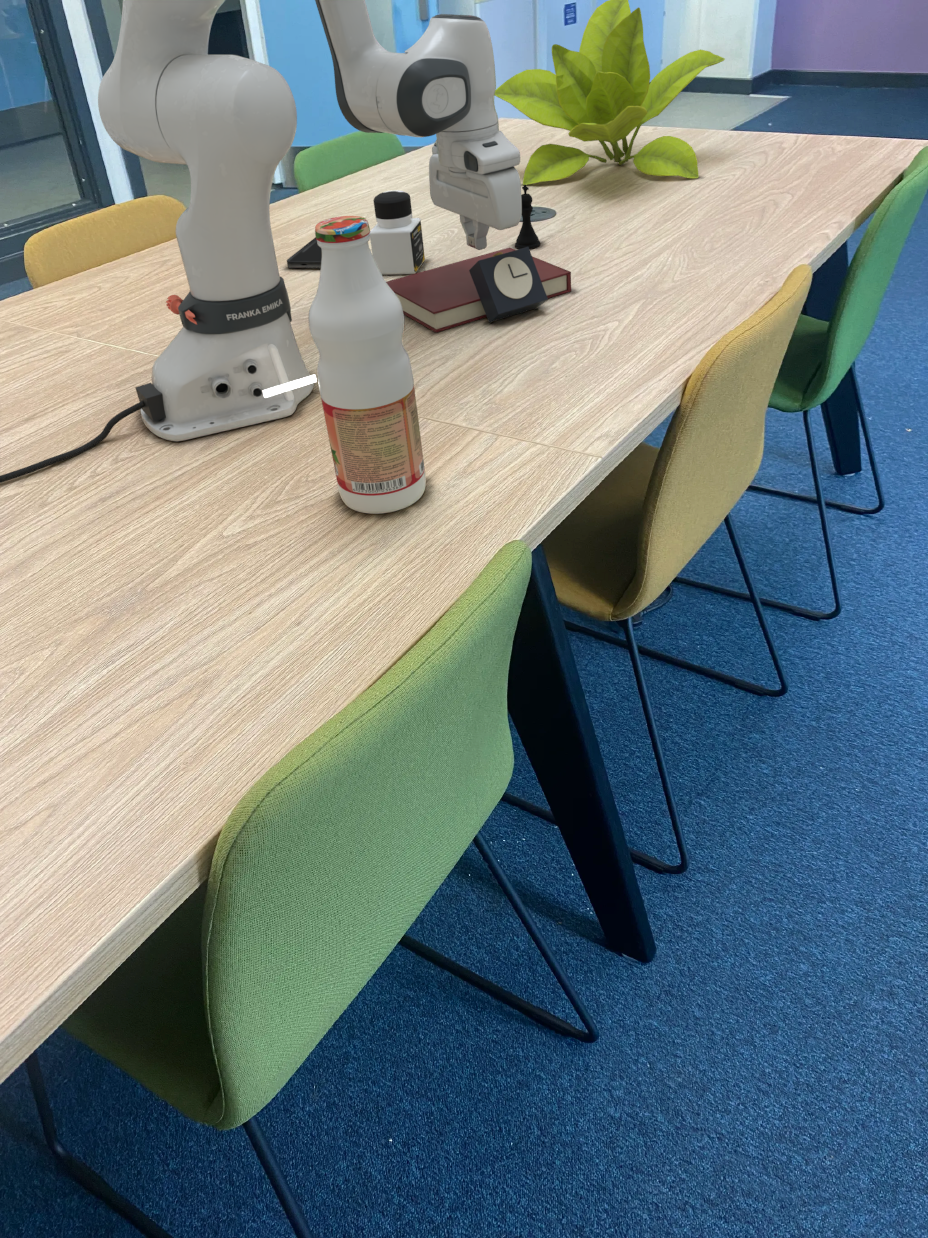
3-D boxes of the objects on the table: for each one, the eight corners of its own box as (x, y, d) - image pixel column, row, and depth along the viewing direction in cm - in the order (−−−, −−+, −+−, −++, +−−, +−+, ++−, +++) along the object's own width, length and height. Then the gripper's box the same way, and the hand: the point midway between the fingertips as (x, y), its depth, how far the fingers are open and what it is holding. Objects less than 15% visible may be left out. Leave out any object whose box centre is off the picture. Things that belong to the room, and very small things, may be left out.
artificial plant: (493, 202, 214) (450, 95, 187) (601, 53, 217) (574, -74, 190) (653, 265, 196) (630, 156, 169) (768, 100, 199) (764, -32, 172)
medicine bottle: (415, 274, 160) (406, 198, 152) (374, 275, 161) (364, 199, 154) (425, 260, 165) (417, 186, 158) (385, 261, 167) (376, 187, 159)
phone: (356, 235, 177) (325, 261, 165) (357, 241, 177) (326, 268, 166) (317, 235, 179) (283, 261, 167) (318, 241, 179) (285, 267, 168)
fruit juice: (381, 526, 98) (335, 244, 81) (322, 498, 103) (267, 229, 86) (445, 487, 103) (414, 215, 86) (385, 463, 109) (345, 202, 91)
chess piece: (529, 239, 169) (526, 179, 163) (545, 244, 166) (543, 183, 160) (509, 246, 168) (506, 185, 161) (525, 251, 165) (523, 189, 158)
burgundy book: (435, 332, 139) (433, 312, 137) (382, 302, 151) (380, 283, 149) (571, 291, 147) (571, 271, 145) (510, 265, 159) (509, 247, 157)
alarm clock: (499, 327, 138) (495, 267, 133) (472, 314, 143) (467, 256, 138) (548, 312, 141) (546, 253, 136) (520, 299, 146) (517, 242, 141)
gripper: (413, 140, 141) (424, 237, 150) (487, 163, 127) (495, 268, 136) (450, 132, 144) (459, 227, 152) (527, 153, 129) (532, 257, 138)
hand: (477, 247), depth 144 cm, fingers closed
